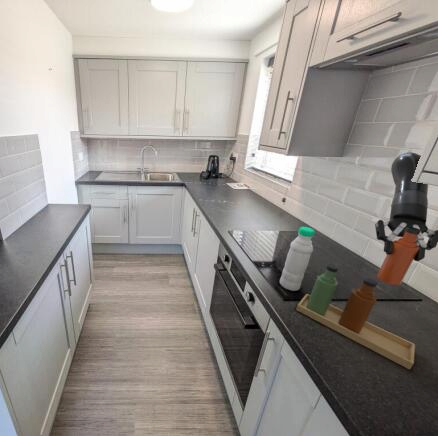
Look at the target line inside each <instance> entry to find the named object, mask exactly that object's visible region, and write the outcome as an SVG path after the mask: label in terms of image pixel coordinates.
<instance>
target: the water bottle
mask: <svg viewBox="0 0 438 436" xmlns="http://www.w3.org/2000/svg"><path fill="white" fill-rule="evenodd" d="M297 234H298V236H297V237H295V238H294V240H292V241H291V243H290V246H289V249H288V252H287V255H286V259H285V261H284V262H285V263H284V267H283V269H282V272H281V276H280V278H279V284H280V286H281V287H282V288H284V289H286V290H288V291H290V292H291V291H292V292H295V291H296V292H297V291H299V290H300V289H301V286H302V283H303V282H302V281H303V279H304V277H305V273H306V271H307V268H308V265H309V262H310V260H311V255H312V253H313V251H314V246H313V241H312V238H313V237H314V236H315V230H314V229H313V228H311V227H307V226H301V227H299V229H298V231H297Z"/></svg>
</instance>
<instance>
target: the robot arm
mask: <svg viewBox="0 0 438 436" xmlns="http://www.w3.org/2000/svg"><path fill="white" fill-rule="evenodd" d="M421 156H422V155H421V154H418V153H416V152H411V151H409V152H404V153H401V154H399V155H398V156H396V158H394V160H393V162H392V163H391V166H390V172H391V176H392V181H393V182H394V185H395V188H394V193H393V198H392V201H391V205H390V215H389V220H388V221H384V220H383V219H379V220H378V221H376V222H375V223H374V226H375V235H376V240H378V241H382V242H383V243H384V244H383V252H384V253H385V254H386V255H387V254H388V255H390V254H391V253H392V250H393V241H394V239H395V238H402V237H403V235H404V233H405V230H406V228H407V227H414V228H417V229H420V230H421V232H420V234H418V236H417V238H416V240H415V242H417V246H418V247H419V250H418V252H417V254H416V256H415V258H414V260H413V262H414V261H415V262H419V261H422V260H424V259H425V258H426V251H431V250H432V249H434V248H436V247H437V245H438V229H436V230H434V229H430V228H428V225H427V217H428V207H429V206H428V204H429V199H428V191H429V183H428V184H423V183H416V182H412V181H411V179H412V178H413V176H414V173H415V170H416V167H417V164H418V161H419V159H420V157H421ZM386 227H388V228H389V230H390V231H391V232H390V233H389V234H388V236H387V235H386V229H385V228H386ZM424 233H425V234H426V236H427V238H428V240H427V242H426V241H425V237H424V235H423V234H424Z"/></svg>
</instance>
